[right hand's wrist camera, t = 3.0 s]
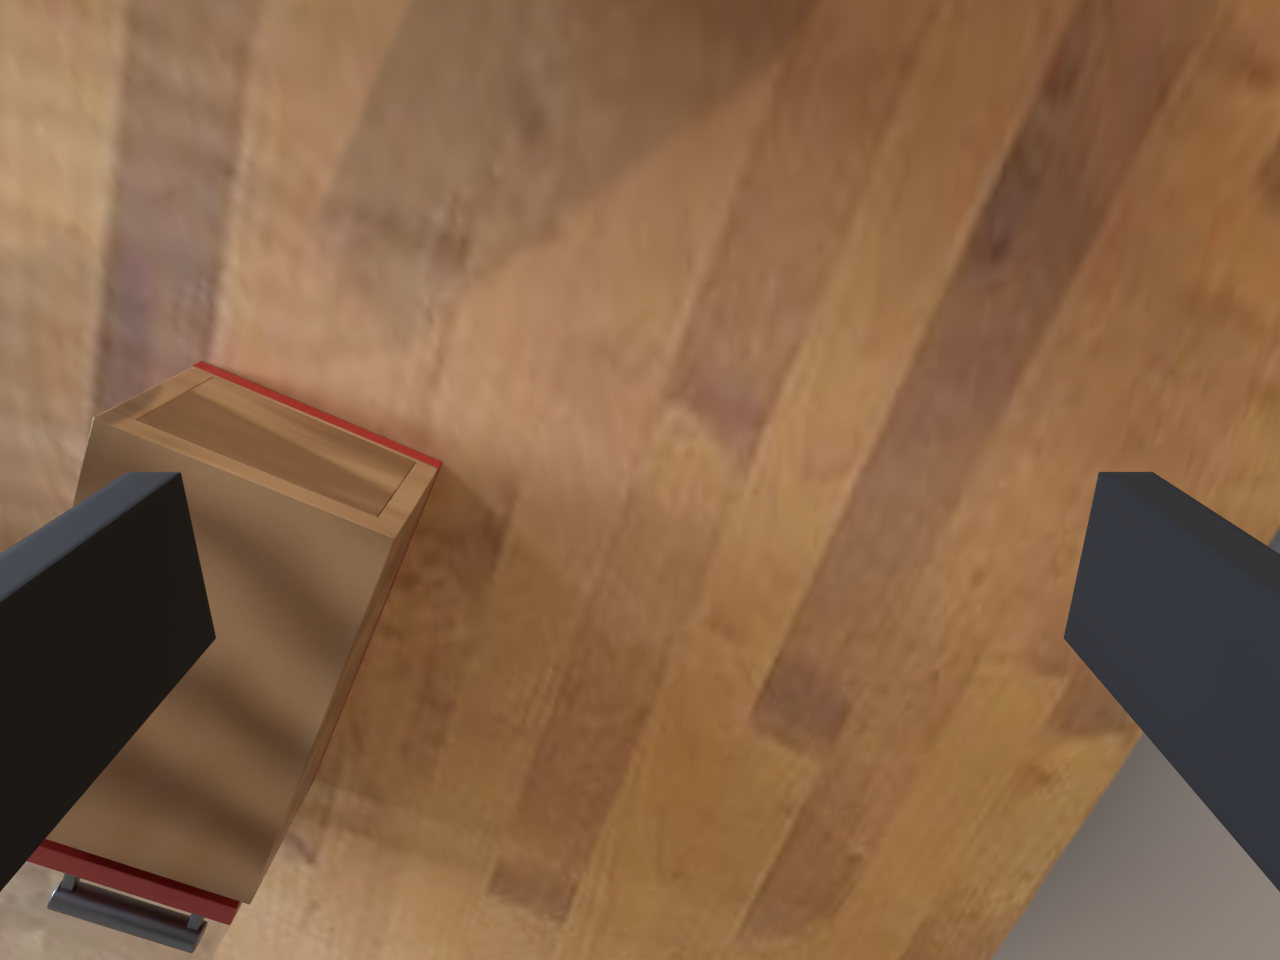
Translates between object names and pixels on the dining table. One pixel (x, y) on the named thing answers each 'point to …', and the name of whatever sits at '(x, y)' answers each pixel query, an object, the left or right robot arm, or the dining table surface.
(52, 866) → the drawer
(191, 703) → the cabinet
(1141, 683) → the right robot arm
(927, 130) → the dining table surface
